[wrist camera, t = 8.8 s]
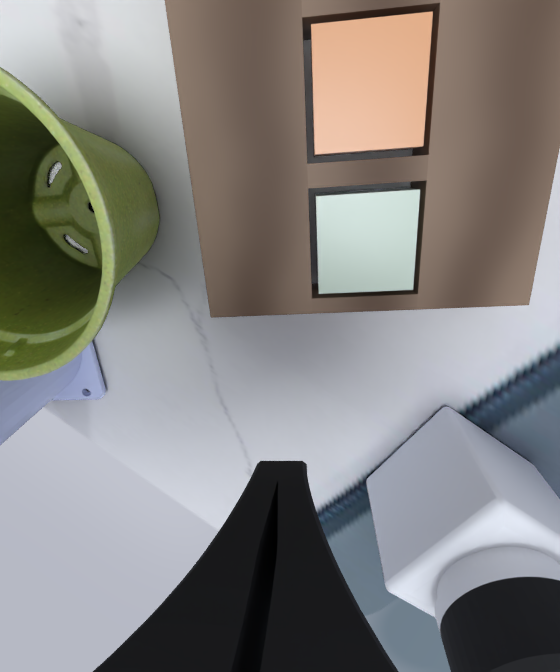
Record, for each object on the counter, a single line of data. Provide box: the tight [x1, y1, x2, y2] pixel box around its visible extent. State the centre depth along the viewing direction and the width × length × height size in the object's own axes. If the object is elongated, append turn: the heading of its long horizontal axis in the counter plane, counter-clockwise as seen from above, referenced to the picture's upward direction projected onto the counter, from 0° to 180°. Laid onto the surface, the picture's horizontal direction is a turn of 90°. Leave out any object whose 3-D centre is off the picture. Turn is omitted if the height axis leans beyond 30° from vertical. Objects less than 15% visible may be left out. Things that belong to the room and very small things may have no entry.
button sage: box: [315, 187, 420, 294], centre depth 17 cm, size 4×4×2 cm
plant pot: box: [0, 67, 159, 381], centre depth 15 cm, size 9×9×9 cm
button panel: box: [165, 0, 560, 317], centre depth 15 cm, size 14×17×2 cm
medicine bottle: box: [366, 407, 560, 672], centre depth 18 cm, size 7×7×12 cm
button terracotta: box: [311, 12, 433, 157], centre depth 15 cm, size 4×4×2 cm
